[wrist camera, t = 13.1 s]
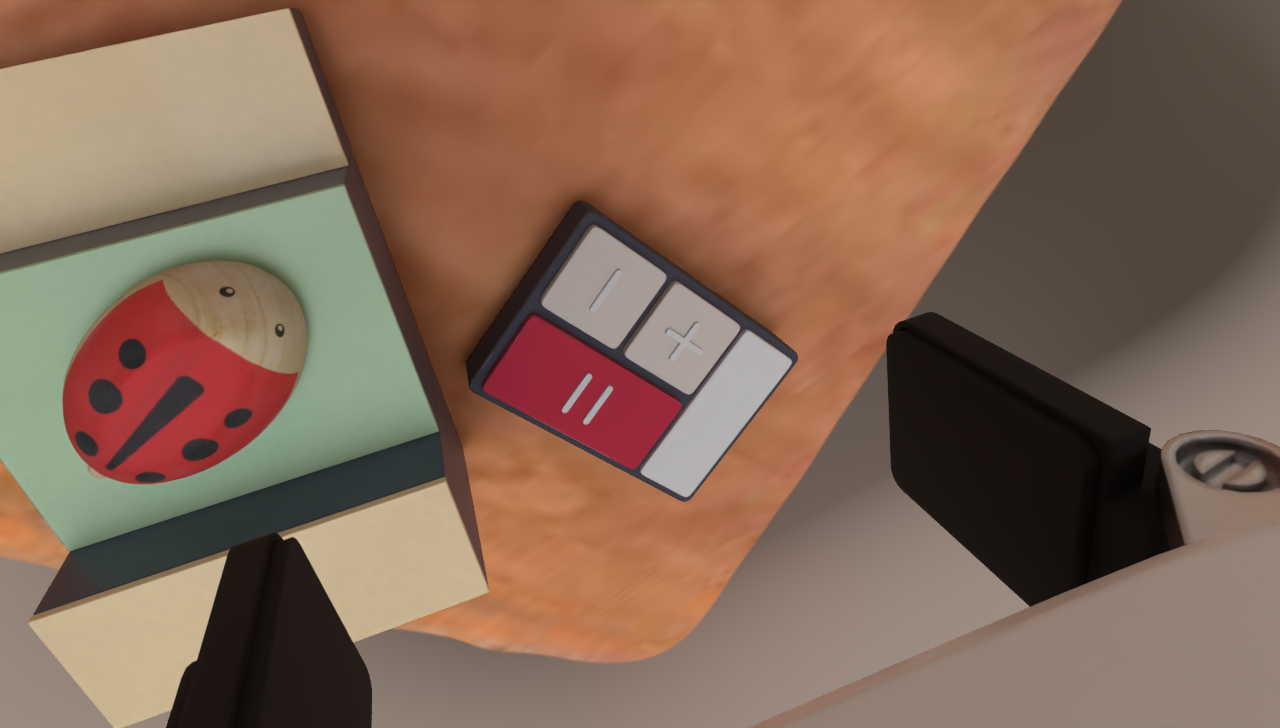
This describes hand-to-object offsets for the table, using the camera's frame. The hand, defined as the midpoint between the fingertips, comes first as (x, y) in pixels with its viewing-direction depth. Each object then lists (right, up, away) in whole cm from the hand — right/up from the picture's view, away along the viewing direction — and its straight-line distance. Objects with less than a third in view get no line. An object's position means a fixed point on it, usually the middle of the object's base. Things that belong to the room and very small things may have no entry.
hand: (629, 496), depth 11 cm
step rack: (-19, +5, +24) cm, 31 cm away
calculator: (-1, +3, +31) cm, 32 cm away
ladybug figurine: (-17, +2, +17) cm, 24 cm away
